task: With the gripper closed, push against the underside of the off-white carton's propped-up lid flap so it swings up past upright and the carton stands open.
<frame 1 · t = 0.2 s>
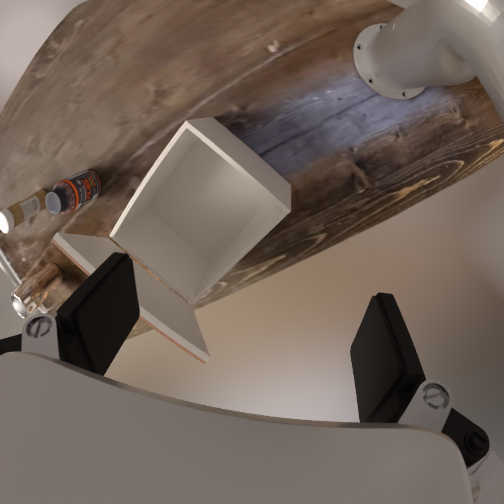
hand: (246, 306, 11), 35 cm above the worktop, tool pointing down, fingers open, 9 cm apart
carton: (211, 195, 46), on the worktop
beer glass: (55, 272, 60), on the worktop
lid flap: (140, 284, 30), point 21 cm above the worktop, hinge at 55.0°
sprinkles bottle: (44, 198, 51), on the worktop
supplement bottle: (91, 183, 48), on the worktop
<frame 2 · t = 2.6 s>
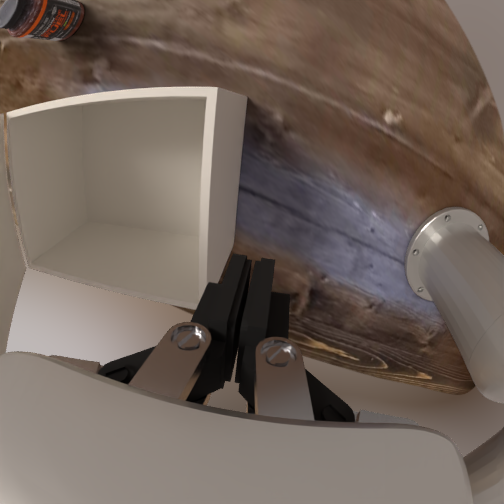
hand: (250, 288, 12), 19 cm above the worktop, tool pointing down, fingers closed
carton: (150, 166, 29), on the worktop
supplement bottle: (70, 21, 21), on the worktop
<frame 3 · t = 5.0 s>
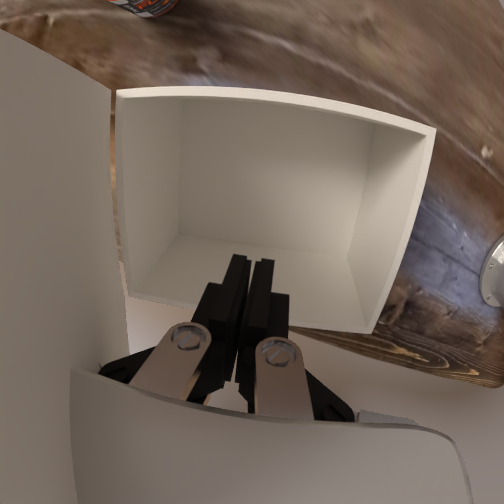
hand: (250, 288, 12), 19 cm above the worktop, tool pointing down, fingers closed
carton: (271, 177, 29), on the worktop
lid flap: (94, 289, 10), point 21 cm above the worktop, hinge at 60.6°, touching gripper
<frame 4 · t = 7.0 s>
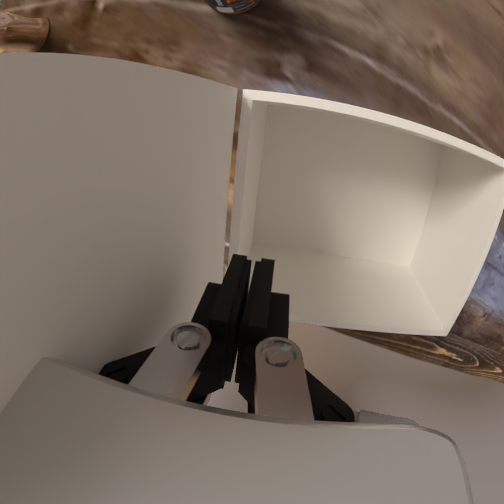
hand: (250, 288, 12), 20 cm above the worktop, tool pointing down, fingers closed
carton: (350, 190, 28), on the worktop
beer glass: (37, 36, 22), on the worktop
lid flap: (145, 312, 10), point 22 cm above the worktop, hinge at 92.7°, touching gripper
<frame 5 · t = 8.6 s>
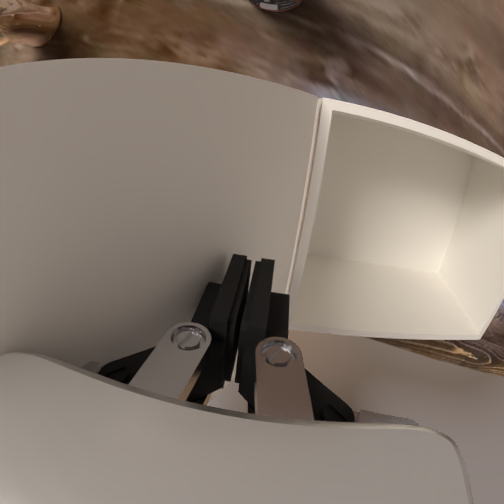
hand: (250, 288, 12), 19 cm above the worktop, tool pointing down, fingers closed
carton: (388, 199, 27), on the worktop
beer glass: (46, 26, 20), on the worktop
lid flap: (164, 314, 10), point 21 cm above the worktop, hinge at 116.8°, touching gripper
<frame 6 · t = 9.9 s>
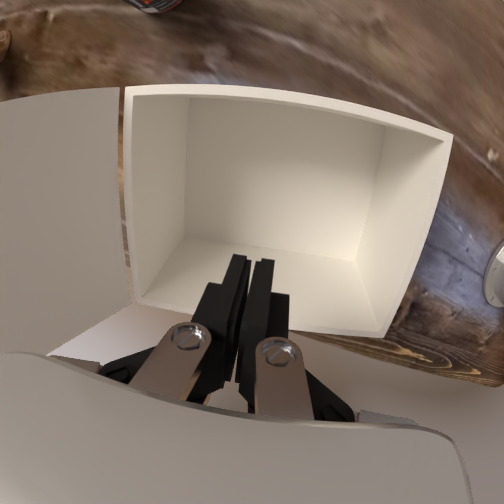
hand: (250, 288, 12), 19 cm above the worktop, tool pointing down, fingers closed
carton: (279, 179, 28), on the worktop
beer glass: (1, 47, 20), on the worktop
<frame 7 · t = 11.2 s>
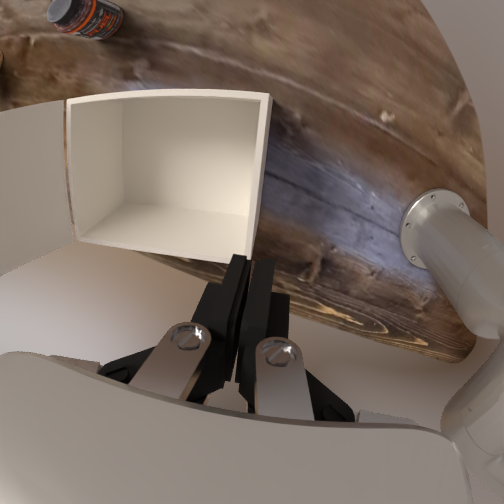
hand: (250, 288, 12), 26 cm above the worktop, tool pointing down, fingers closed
carton: (187, 153, 35), on the worktop
supplement bottle: (108, 22, 26), on the worktop
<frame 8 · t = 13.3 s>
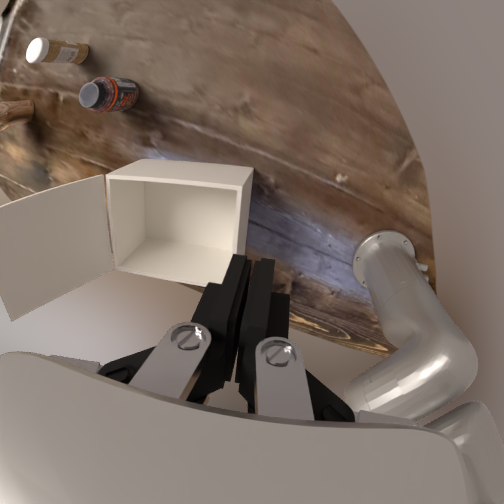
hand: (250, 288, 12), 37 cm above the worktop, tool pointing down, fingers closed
carton: (193, 205, 50), on the worktop
beer glass: (27, 110, 44), on the worktop
lid flap: (50, 246, 33), point 21 cm above the worktop, hinge at 117.0°
sprinkles bottle: (81, 53, 38), on the worktop
supplement bottle: (126, 94, 42), on the worktop
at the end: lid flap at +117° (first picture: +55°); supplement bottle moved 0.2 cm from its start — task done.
